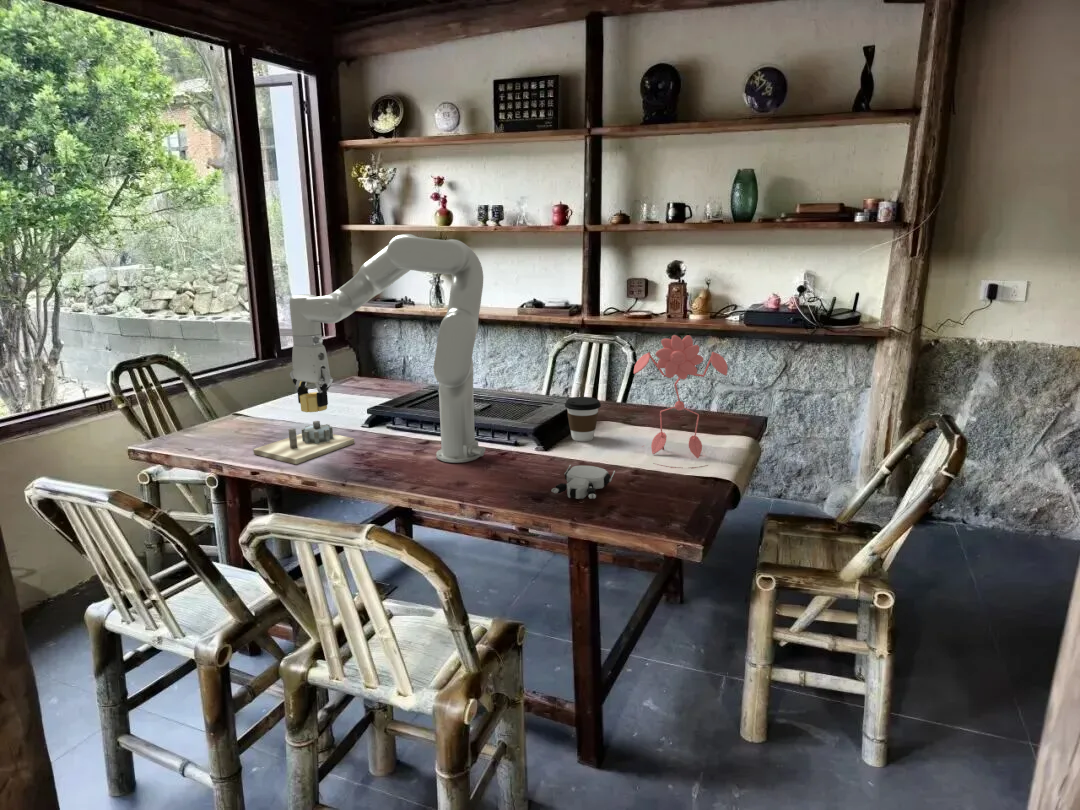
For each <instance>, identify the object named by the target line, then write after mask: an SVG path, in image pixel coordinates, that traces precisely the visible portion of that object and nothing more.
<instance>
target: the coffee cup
mask: <svg viewBox="0 0 1080 810" xmlns="http://www.w3.org/2000/svg"><path fill="white" fill-rule="evenodd" d="M601 405H602V404H601V402H600V399H598V398H595V397H591V396H574V397H570V398H568V399H566V401H565V402H564V407H565V408H566V410H567V412H566V413H567V418H568V425H569V430H570V434H571V438H572V440H574V441H576V442H590V441H592V440H593V439H594V436H595V431H596V429H597V427H596V426H597V422H598V417H599V409H600V408H601Z"/></svg>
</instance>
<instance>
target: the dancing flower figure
mask: <svg viewBox="0 0 1080 810" xmlns="http://www.w3.org/2000/svg"><path fill="white" fill-rule="evenodd" d="M660 342H661V343H660V344H661V345H662V347H663V348H659V349H657V350H656V352H655V357H656V358H658V360H657V362H656V361H655V359H654V358H653V357H652V356H653V355H651V352H650V351H649V352H647V353H643V355H642V356H640V357H639V358H638V360H637V361H636V362H635V364H634V366H633V367H634V368H633V374H634V375H637V374H638V373H639V372H640V371H642V370H643V369H644V368H645V367H646V366H648V363H649V362H650V360H651V361H652V362H653V364H654V366H656V367H655V368H657V370H658V371H659V373H661V375H662V376H663V378H664V377H667V379H672V378H674V376H675V375H676V376H677V377H678V378H677V379H676V380H675V382H674V385H673V386H674V388H675V389H674V390H675V393H676V397H677V401H675V403H674V406H672V407H669V408H666V409H662V410H660V411H659V420H660V422H659V423H660V432H658V433H657V434H656V435H655V436H654V437H653V439H652V442H651V445H650V447H651V454H652V455H655V454H657V453H659V452H661V450H662V451H664V450H665V445H666V442H667V434H666V433H665V432H664V431H663V423H662V422H663V420H662V413H663V412H666V411H668V410H672V409H675V410H677V411H683V410H686V411H687V412H690V413H693V414H695V415H697V419H696V423H695V424H696V425H695V429H694V434H693V435H691V436H689V439H688V448H689V451H690V453H692V455H693V456H694V457H695V458H696V459H700V456H701V454H702V451H703V444H702V441H701V439H700V438H699V437H698V436H697V432H698V424H699V419H700V414H699V413H697V412H695V411H692V410H691V409H689V408H687V407H685V403H684V401H682V400H680V395H679V390H678V386H677V385H678V383H679V381H680V380H687V377H688V375H690V376H697V377H701V378H704V377H705V375H706V374H707V372H708V369H709V366H710V364H711V365H712V367H713V368H714V369H715V370H716V371H717V372H718V373H720V374H722V375H723V376H726V377H727V374H728V364H727V361H726V359H725V358H724V357H723V356H722V355H720V354H719V353H717V352H715V351H712V352H711V355H710V357H709V360H708V362H707V365H706V367H705V370H704V371H703V374H700V373H698V368H697V367H696V366H698V365H700V364H701V363H703V361H704V357H703V355H702V356H701V355H700V354H699V352H700V346H699V345H698V344H694V340H693V338H692V336H691V335H690V334H689V335H687V334H686V335H685V336H684V337H683V339H682V338H681V337H680V336H678V335H677V334H676V335H675V334H673V335H672V336H671V339H670V338H666V337H665V338H662V339H661V341H660ZM662 369H664V371H665V372H663V371H662ZM643 447H644V445H642V446H641V448H643ZM652 464H654V465H657V466H661V467H662V466H663V467H664V465H662V464H658V463H654V462H653V463H652ZM708 466H709V464H706V465H705V467H708ZM665 467H666V468H670V469H680V468H681V469H682V467H681V466H680V467H679V466H678V467H676V466H667V465H665ZM703 467H704V465H701V466H699V468H703ZM697 468H698V466H692V467H689V469H697Z"/></svg>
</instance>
